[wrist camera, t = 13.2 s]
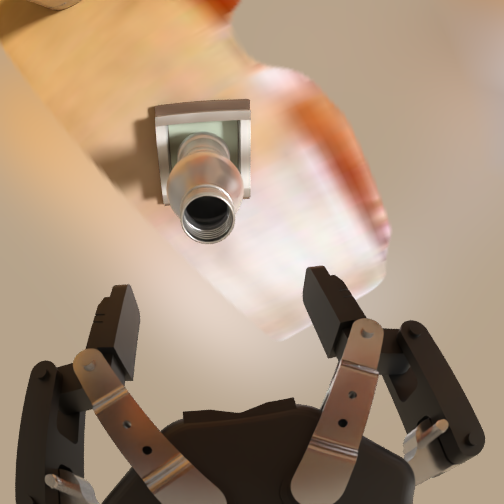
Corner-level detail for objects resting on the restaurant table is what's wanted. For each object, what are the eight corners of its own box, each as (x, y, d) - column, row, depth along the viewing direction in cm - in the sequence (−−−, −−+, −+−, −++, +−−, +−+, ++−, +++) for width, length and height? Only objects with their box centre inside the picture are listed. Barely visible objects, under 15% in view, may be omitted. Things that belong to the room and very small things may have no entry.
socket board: (156, 105, 31) (151, 107, 28) (248, 99, 33) (253, 100, 30) (165, 202, 39) (162, 213, 36) (248, 195, 40) (252, 205, 37)
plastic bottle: (193, 185, 37) (192, 276, 20) (169, 143, 33) (138, 202, 16) (236, 163, 36) (272, 237, 20) (213, 119, 32) (229, 151, 16)
